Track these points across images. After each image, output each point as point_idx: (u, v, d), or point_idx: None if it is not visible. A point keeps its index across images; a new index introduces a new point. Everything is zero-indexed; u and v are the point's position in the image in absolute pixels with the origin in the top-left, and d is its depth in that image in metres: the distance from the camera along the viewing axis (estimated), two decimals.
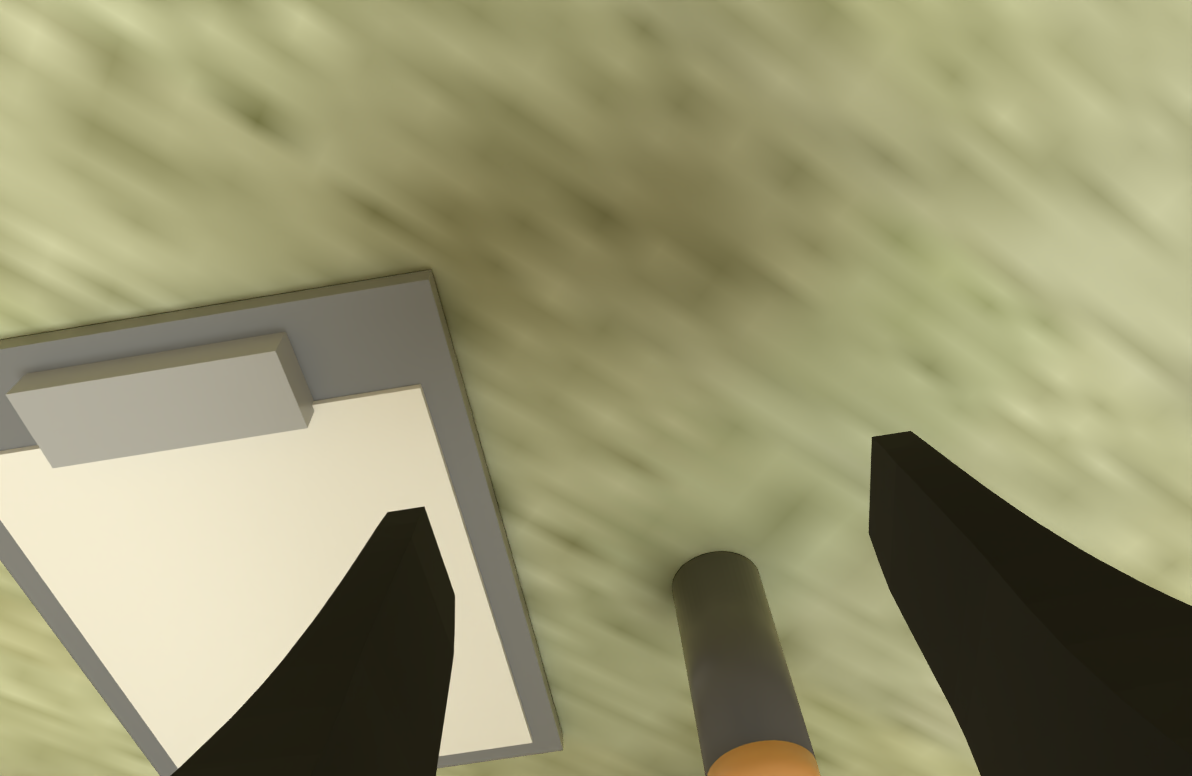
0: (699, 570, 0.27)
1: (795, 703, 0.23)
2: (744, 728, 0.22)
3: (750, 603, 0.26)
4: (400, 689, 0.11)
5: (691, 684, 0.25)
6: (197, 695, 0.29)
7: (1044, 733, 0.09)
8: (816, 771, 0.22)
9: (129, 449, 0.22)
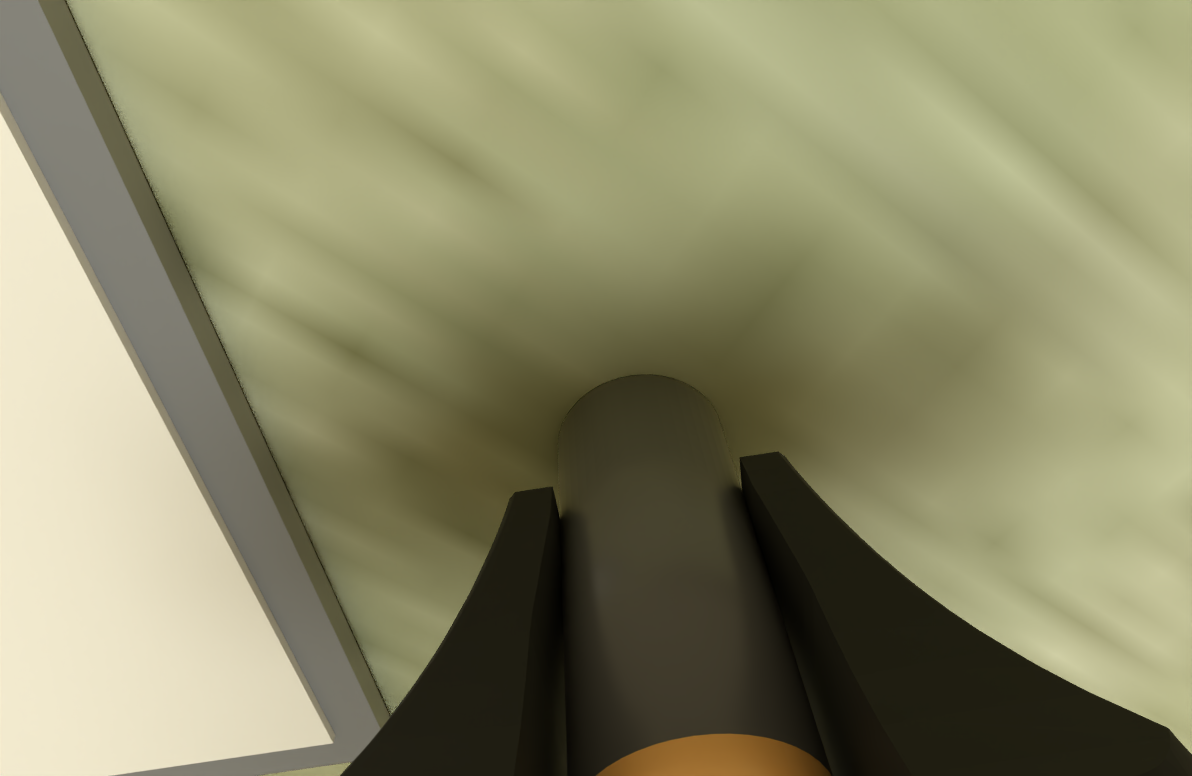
0: (600, 405, 0.14)
1: (785, 650, 0.10)
2: (657, 703, 0.09)
3: (696, 455, 0.13)
4: (552, 666, 0.11)
5: (563, 616, 0.12)
6: None
7: (852, 760, 0.09)
8: None
9: None
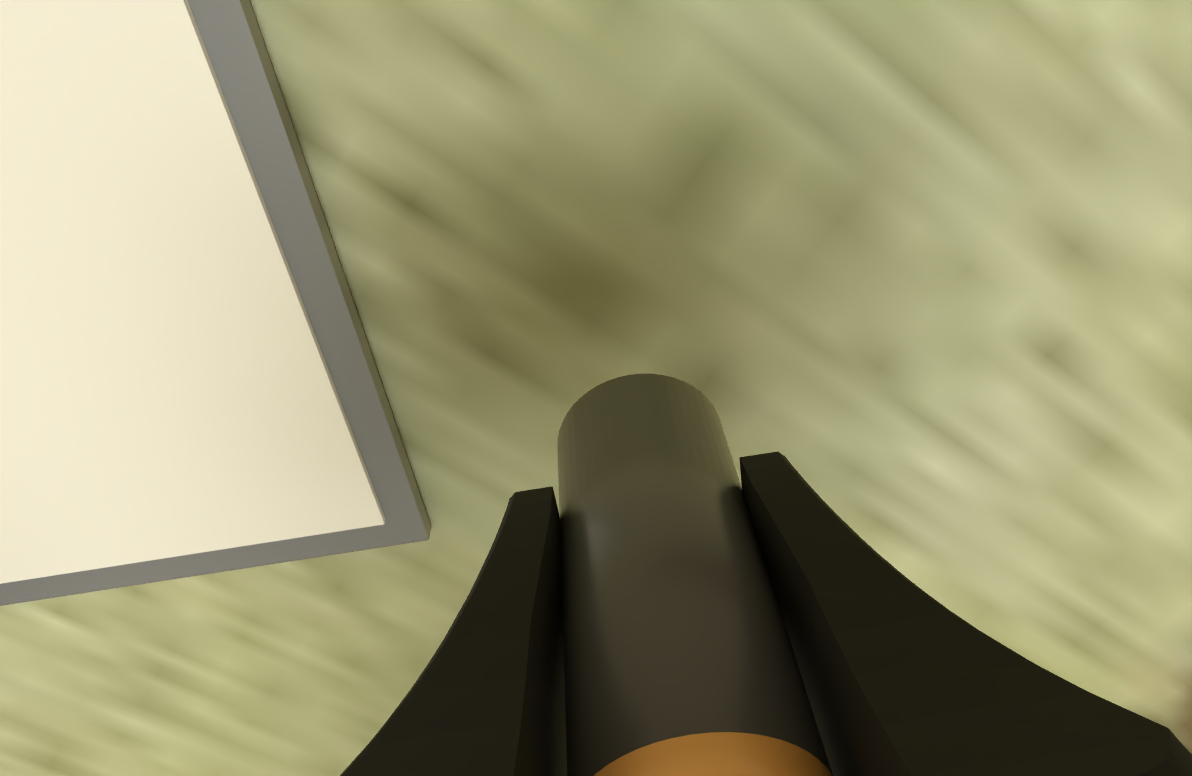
0: (601, 404, 0.14)
1: (786, 649, 0.10)
2: (658, 701, 0.09)
3: (696, 454, 0.13)
4: (552, 666, 0.11)
5: None
6: None
7: (852, 760, 0.09)
8: None
9: None
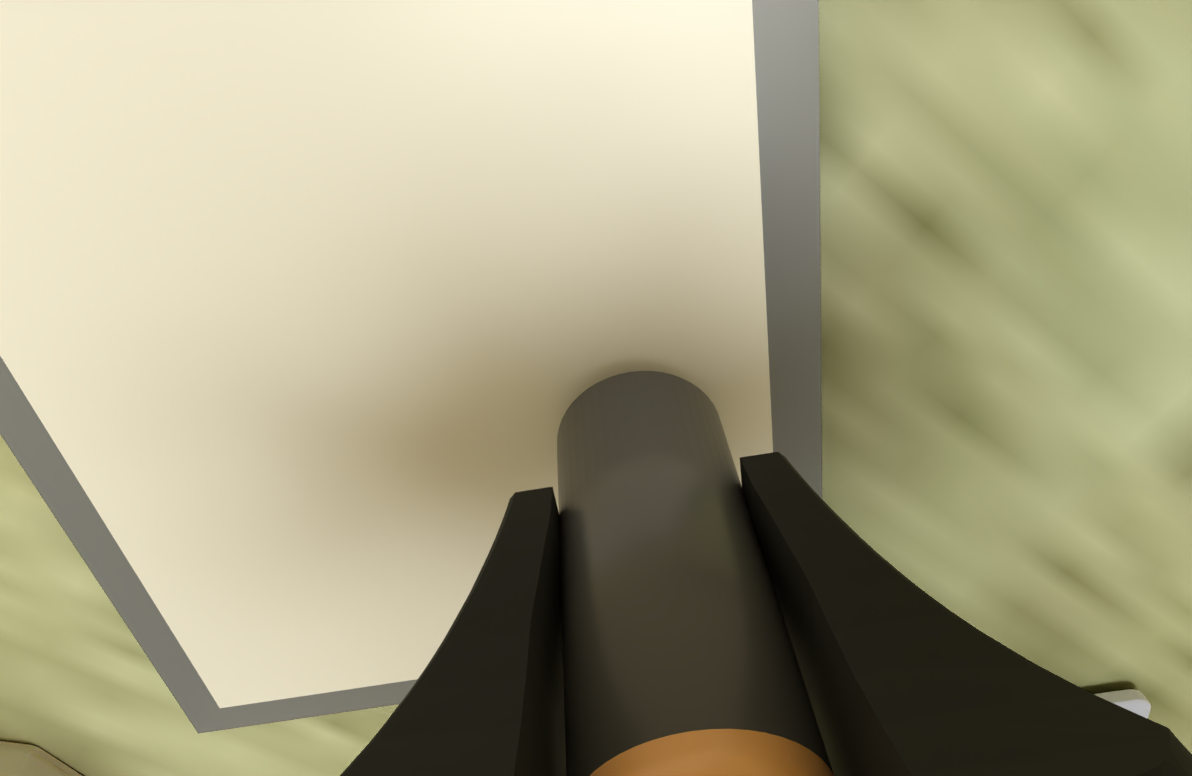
0: (600, 401, 0.14)
1: (785, 645, 0.10)
2: (658, 697, 0.09)
3: (695, 451, 0.13)
4: (552, 666, 0.11)
5: (562, 613, 0.12)
6: (229, 523, 0.16)
7: (852, 760, 0.09)
8: None
9: None
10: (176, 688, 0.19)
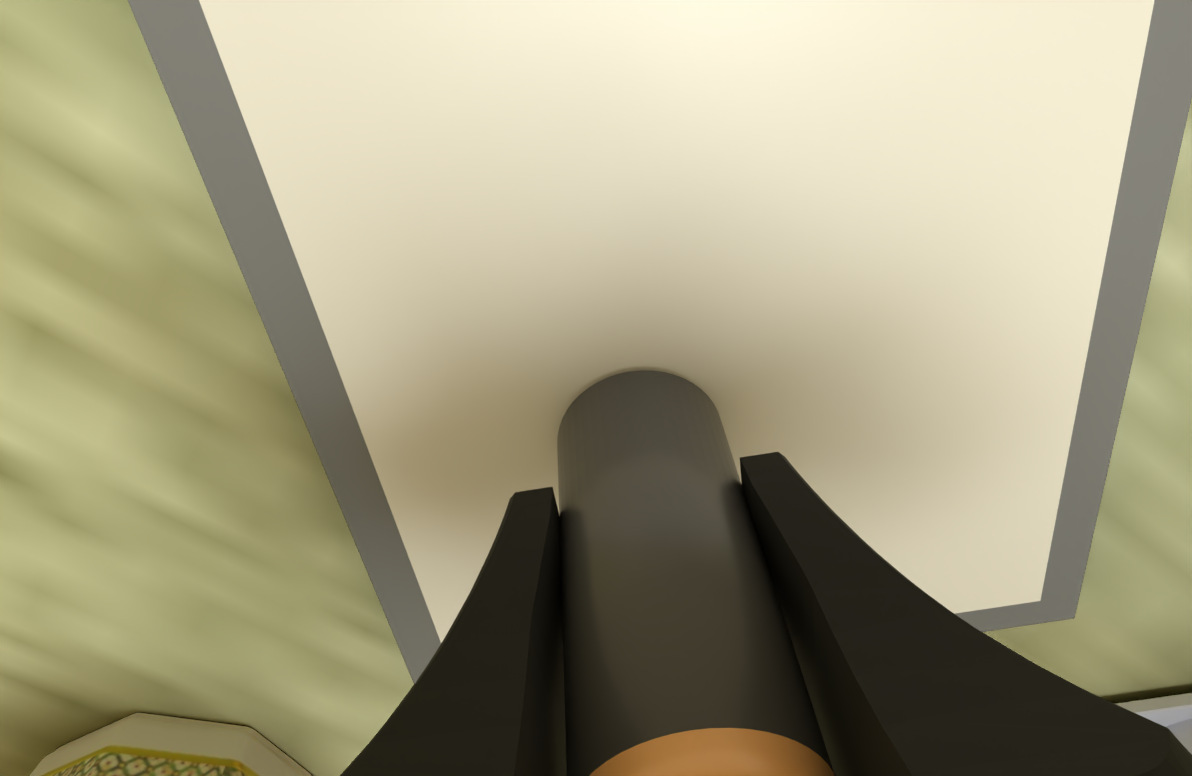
0: (600, 400, 0.14)
1: (786, 645, 0.10)
2: (658, 696, 0.09)
3: (696, 450, 0.13)
4: (552, 667, 0.11)
5: (562, 611, 0.12)
6: (510, 493, 0.16)
7: (852, 760, 0.09)
8: None
9: None
10: (415, 666, 0.19)
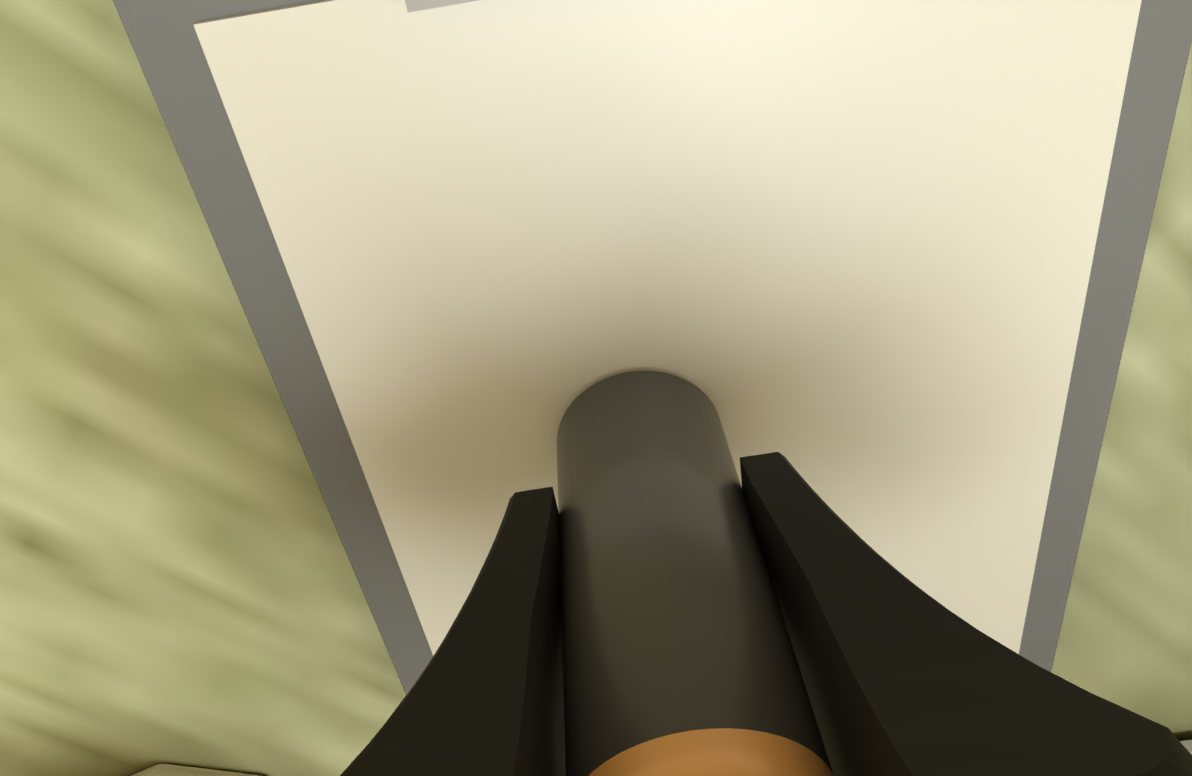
0: (600, 400, 0.14)
1: (785, 645, 0.10)
2: (657, 696, 0.09)
3: (695, 450, 0.13)
4: (552, 666, 0.11)
5: (562, 612, 0.12)
6: None
7: (852, 760, 0.09)
8: None
9: None
10: None
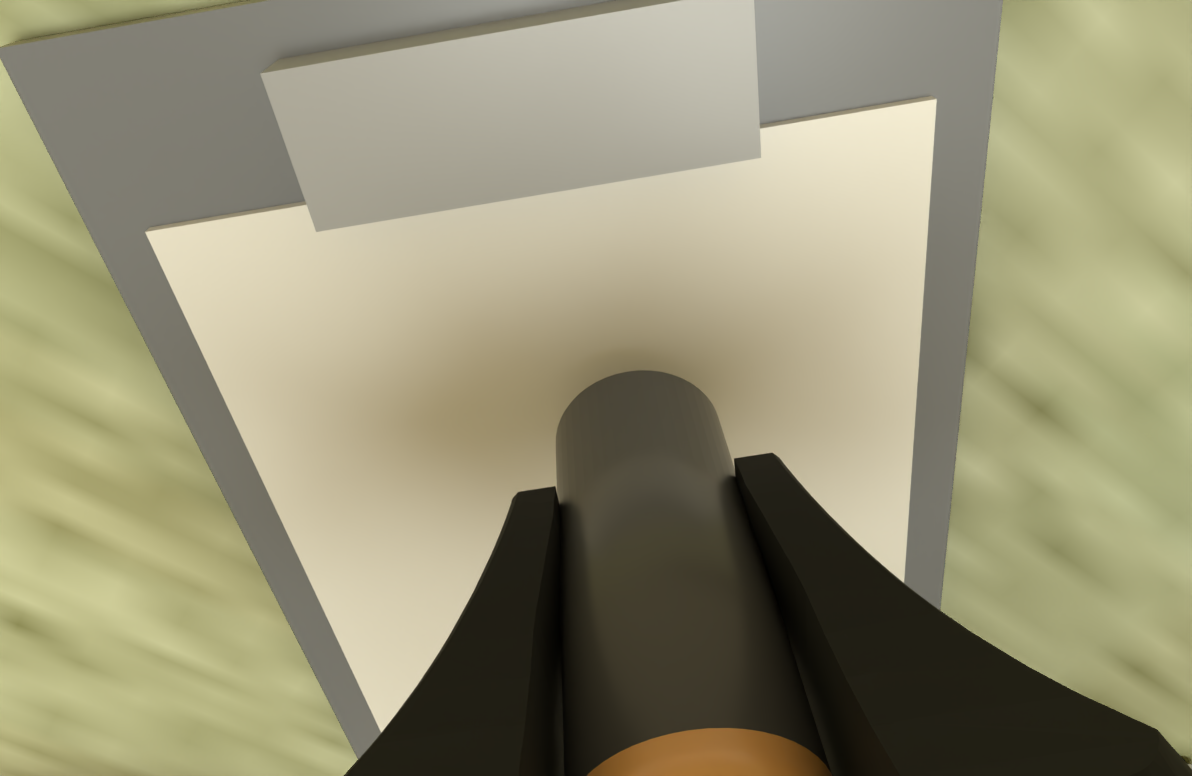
0: (599, 400, 0.14)
1: (783, 645, 0.10)
2: (655, 697, 0.09)
3: (694, 450, 0.13)
4: (555, 666, 0.11)
5: (560, 611, 0.12)
6: None
7: (844, 761, 0.09)
8: None
9: (452, 195, 0.13)
10: None
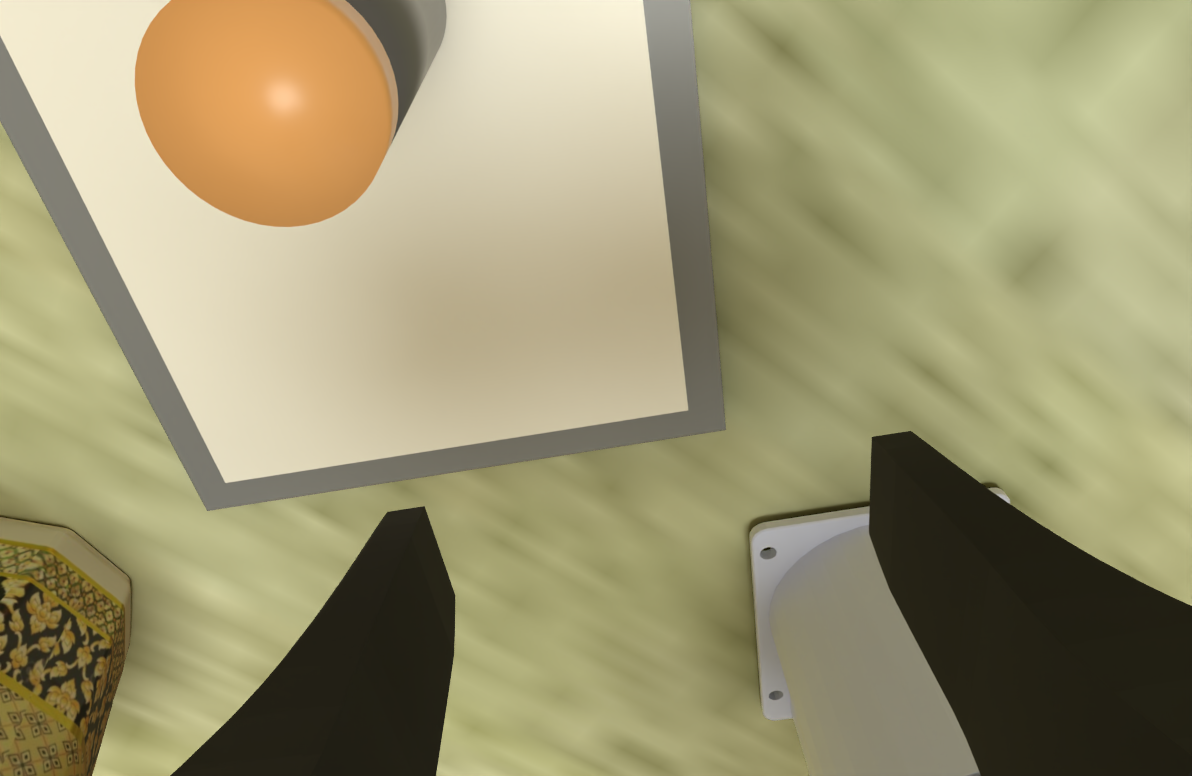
0: None
1: (383, 1, 0.12)
2: None
3: None
4: (400, 689, 0.11)
5: None
6: (233, 303, 0.20)
7: (1044, 733, 0.09)
8: (358, 29, 0.10)
9: None
10: (189, 465, 0.23)
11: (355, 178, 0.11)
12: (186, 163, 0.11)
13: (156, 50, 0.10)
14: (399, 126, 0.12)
